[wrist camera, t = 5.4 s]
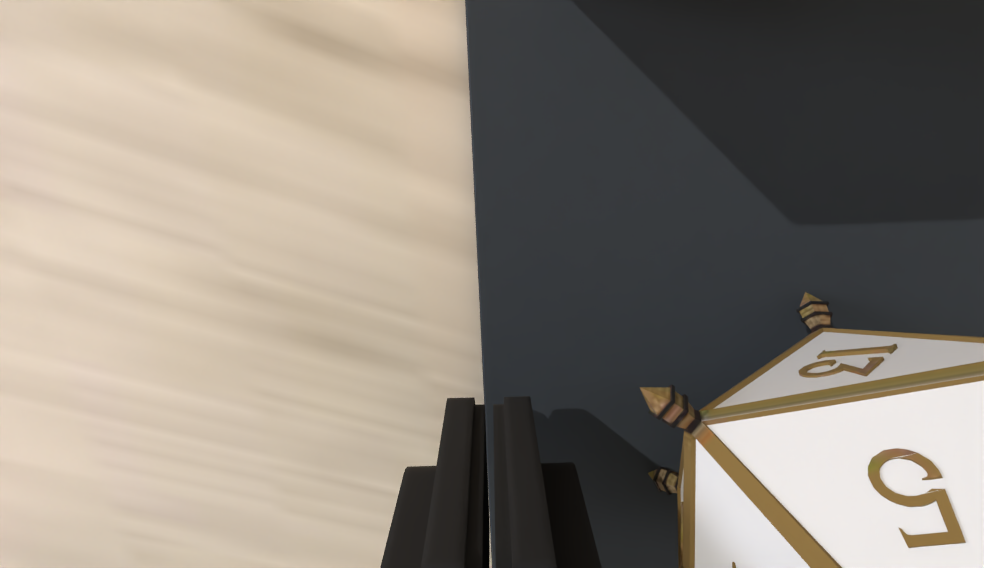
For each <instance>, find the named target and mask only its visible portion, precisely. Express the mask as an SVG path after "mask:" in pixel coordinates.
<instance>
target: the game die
mask: <svg viewBox="0 0 984 568" xmlns="http://www.w3.org/2000/svg"><path fill="white" fill-rule="evenodd" d="M828 305H829V302H828V301H821V300H820V299H818V298H816V297H814V296H812V295H810V294H809V293H807V292H805V294H804V297H803V299H802V302H801V304H800V307H799V308H797V309H796V312H797V313H799V314H800V315H801V316H802V319H800V320H801V322H802V323H804V324H805V325H807V326H808V327H809V328H810V329H811V334H809V335H808V336H806V337H805V338H804V339H802V340H801V341H799V342H798V343H796V344H795V345H793V346H792V347H790V348H789V349H788V350H786V351H785V352H783V353H782V354H780V355H779V356H777V357H776V358H774V359H773V360H772V361H770V362H769V363H767V364H766V365H764V366H763V367H761V368H760V369H758V370H757V371H756V372H754V373H753V374H751V375H750V376H748V377H747V378H745V379H744V380H742V381H741V382H740V383H738V384H737V385H735V386H734V387H732V388H731V389H729V390H728V391H726V392H725V393H724V394H722V395H721V396H719V397H718V398H716V399H715V400H713V401H712V402H710V403H709V404H708V405H706V406H705V407H703V408H702V409H700V410H699V411H698V410H695V409H694V408H693V407H692V406H691V405H690V403H689V402H688V396H687V395H685V394H684V395H682V396H681V395H680V394H678V393H677V392H676V391H675V386H674V385H670V386H668V387H640V390H641V392H642V394H643V396H644V398H645V400H646V402H647V405H648V407H649V409H650V410H649V412H648V413H649V414H650V415H652V416H654V417H655V418H657V419H658V420H660V419H661V418H663V419H662V422H664V423H666V424H667V425H669V426H670V427H672V428H675V427H676V426H677V427H680V428H682V429H683V430H684V435H683V444H682V452H681V460H680V469H679V473H678V472H675V471H671V470H670V469H668V468H665V467H661V466H659V467H658V469H656V470H654V471H651V472H649V473H648V474H649V476H650V477H651V478H652V480H653V482H654V484H655V486H656V488H657V490H658V492H662V491H665V492H666V493H667V495H671V494H672V493H677V501H678V560H679V568H984V337H975V336H958V335H940V334H923V333H905V332H888V331H870V330H852V329H835V328H833V327H832V326H831V325H830V319H831V317H832V315H833V313H832V312H829V311H828V308H827V307H828Z"/></svg>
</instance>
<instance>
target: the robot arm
mask: <svg viewBox="0 0 984 568" xmlns="http://www.w3.org/2000/svg"><path fill="white" fill-rule="evenodd" d="M493 424H494V491H495V556H496V568H602V567H601V563H600V559H599V555H598V551H597V547H596V543H595V540H594V536H593V532H592V528H591V524H590V520H589V516H588V512H587V508H586V505H585V501H584V497H583V493H582V489H581V485H580V481H579V477H578V474H577V470H576V467H575V464H574V463H573V462H569V463H541V462H540V456H539V449H538V443H537V436H536V430H535V423H534V417H533V411H532V404H531V398H530V396H517V397H504V404H493ZM381 568H489V500H488V473H487V446H486V419H485V405H475V399H474V398H448V399H447V403H446V409H445V416H444V422H443V428H442V435H441V441H440V448H439V454H438V460H437V466H419V467H407V468H406V469H405V472H404V475H403V479H402V483H401V487H400V491H399V495H398V499H397V503H396V507H395V511H394V515H393V519H392V523H391V527H390V531H389V535H388V539H387V543H386V548H385V552H384V556H383V560H382V564H381Z"/></svg>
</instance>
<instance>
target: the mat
mask: <svg viewBox="0 0 984 568" xmlns="http://www.w3.org/2000/svg"><path fill="white" fill-rule="evenodd" d="M465 6H466V27H467V48H468V69H469V90H470V111H471V132H472V153H473V174H474V195H475V216H476V237H477V258H478V279H479V300H480V321H481V342H482V363H483V384H484V405H485V419H486V446H487V468H488V489H489V510H490V531H491V552H492V568H496V556H495V491H494V424H493V404H504V397H517V396H530V398H531V404H532V411H533V417H534V423H535V430H536V436H537V443H538V449H539V456H540V462H541V463H569V462H573V463H574V464H575V467H576V470H577V474H578V477H579V481H580V485H581V489H582V493H583V497H584V501H585V505H586V508H587V512H588V516H589V520H590V524H591V528H592V532H593V536H594V540H595V543H596V547H597V551H598V555H599V559H600V563H601V567H602V568H679V560H678V501H677V493H672V494H671V495H667V493H666V492H665V491H662V492H658V490H657V488H656V486H655V484H654V482H653V480H652V478H651V477H650V476H649V474H648V473H649V472H651V471H654V470H656V469H658V467H659V466H661V467H665V468H668V469H670V470H671V471H675V472H678V473H679V469H680V460H681V452H682V444H683V435H684V430H683V429H682V428H680V427H677V426H676V427H675V428H672V427H670V426H669V425H667V424H666V423H664V422H662V419H663V418H661V419H660V420H658V419H657V418H655V417H654V416H652V415H650V414H649V413H648V412H649V410H650V409H649V407H648V405H647V402H646V400H645V398H644V396H643V394H642V392H641V390H640V387H668V386H670V385H674V386H675V391H676V392H677V393H678V394H680V395H681V396H682V395H684V394H685V395H687V396H688V402H689V403H690V405H691V406H692V407H693V408H694V409H695V410H698V411H699V410H700V409H702V408H703V407H705V406H706V405H708V404H709V403H710V402H712V401H713V400H715V399H716V398H718V397H719V396H721V395H722V394H724V393H725V392H726V391H728V390H729V389H731V388H732V387H734V386H735V385H737V384H738V383H740V382H741V381H742V380H744V379H745V378H747V377H748V376H750V375H751V374H753V373H754V372H756V371H757V370H758V369H760V368H761V367H763V366H764V365H766V364H767V363H769V362H770V361H772V360H773V359H774V358H776V357H777V356H779V355H780V354H782V353H783V352H785V351H786V350H788V349H789V348H790V347H792V346H793V345H795V344H796V343H798V342H799V341H801V340H802V339H804V338H805V337H806V336H808V335H809V334H811V329H810V328H809V327H808V326H807V325H805V324H804V323H802V322H801V320H800V319H802V316H801V315H800V314H799V313H797V312H796V309H797V308H799V307H800V304H801V302H802V299H803V297H804V294H805V292H807V293H809V294H810V295H812V296H814V297H816V298H818V299H820V300H821V301H828V302H829V305H828V307H827V308H828V311H829V312H832V313H833V315H832V317H831V319H830V325H831V326H832V327H833V328H835V329H852V330H870V331H888V332H905V333H923V334H940V335H958V336H975V337H984V0H465Z"/></svg>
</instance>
